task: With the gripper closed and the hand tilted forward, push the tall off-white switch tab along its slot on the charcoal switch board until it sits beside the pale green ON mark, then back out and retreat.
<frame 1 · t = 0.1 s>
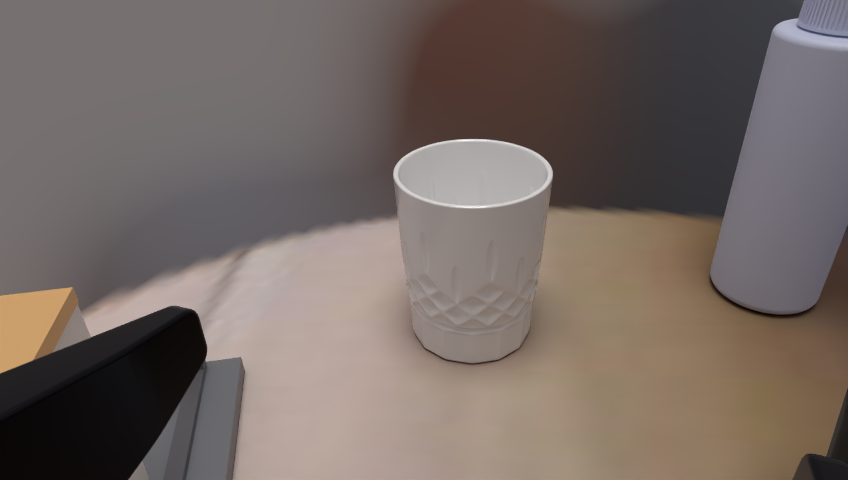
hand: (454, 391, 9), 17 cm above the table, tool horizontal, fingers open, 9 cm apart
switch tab: (40, 448, 21), point 6 cm above the table, slide at 0.0 cm
white cup: (470, 327, 36), on the table
spray bottle: (760, 290, 38), on the table
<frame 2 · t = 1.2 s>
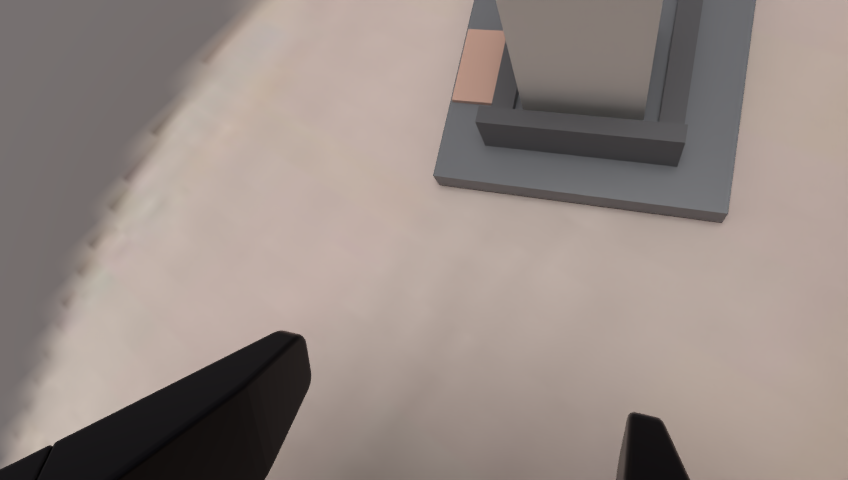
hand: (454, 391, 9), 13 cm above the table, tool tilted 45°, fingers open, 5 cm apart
switch board: (602, 29, 23), on the table
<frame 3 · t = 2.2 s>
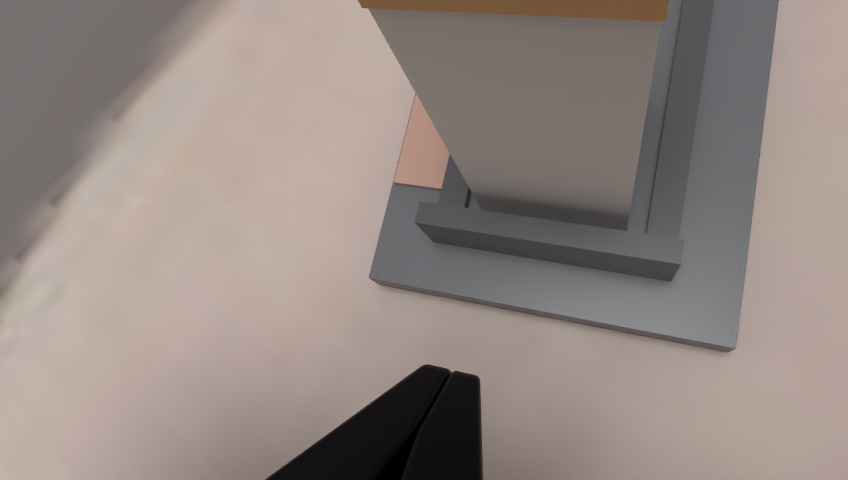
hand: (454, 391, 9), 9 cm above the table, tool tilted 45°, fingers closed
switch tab: (552, 58, 13), point 6 cm above the table, slide at 0.0 cm
switch board: (580, 96, 19), on the table
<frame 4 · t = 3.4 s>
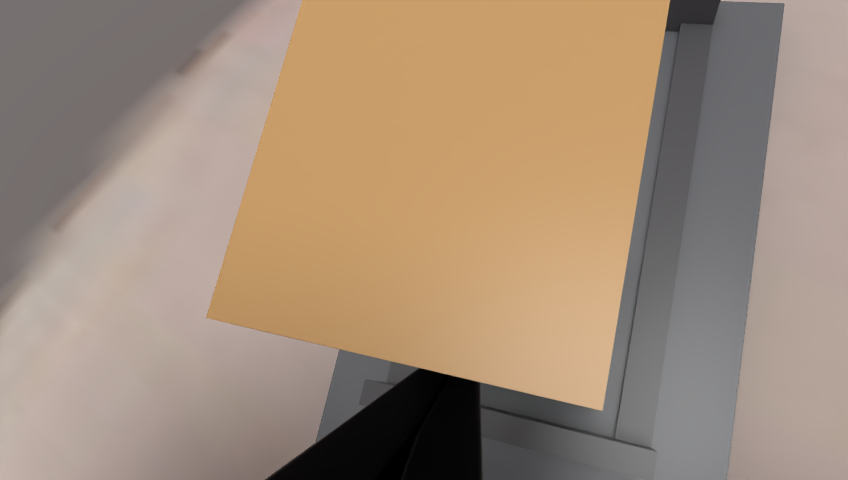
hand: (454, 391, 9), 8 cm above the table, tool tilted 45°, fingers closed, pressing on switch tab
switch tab: (501, 268, 11), point 6 cm above the table, slide at 0.1 cm, touching gripper
switch board: (550, 234, 17), on the table
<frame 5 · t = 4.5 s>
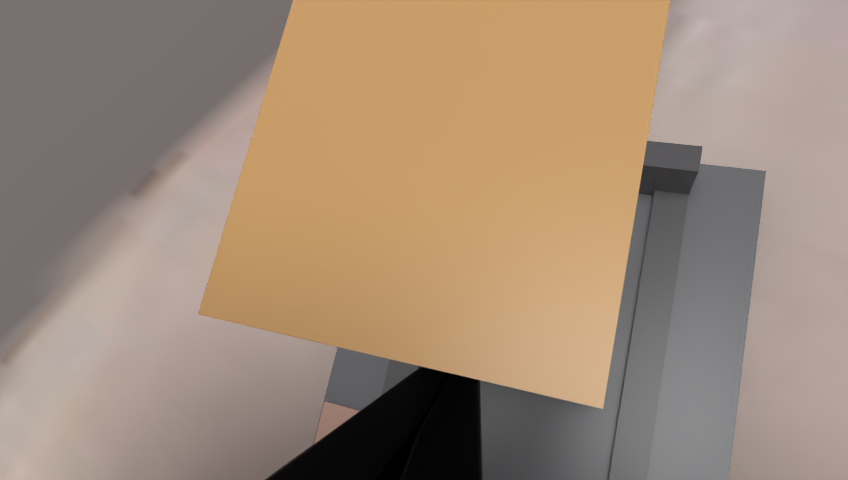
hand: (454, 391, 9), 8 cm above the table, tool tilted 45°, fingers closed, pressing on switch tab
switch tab: (501, 264, 11), point 6 cm above the table, slide at 5.0 cm, touching gripper
switch board: (516, 407, 16), on the table
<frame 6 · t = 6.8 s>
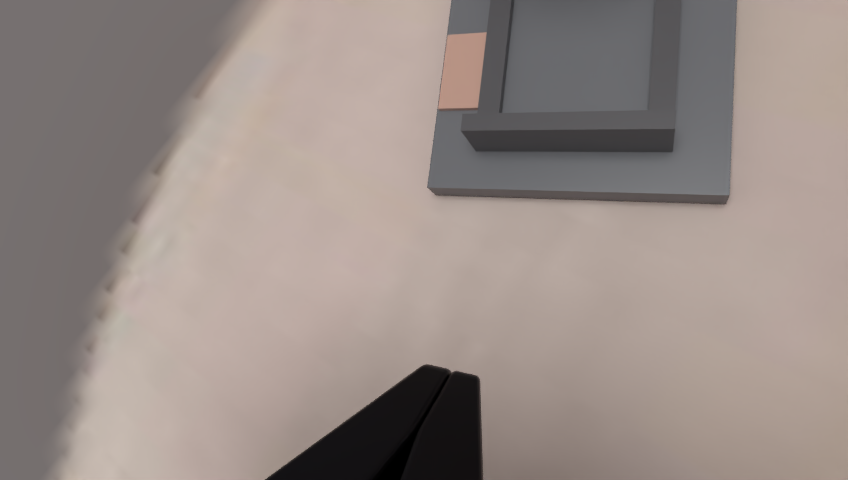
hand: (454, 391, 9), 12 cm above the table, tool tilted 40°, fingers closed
switch board: (584, 18, 23), on the table
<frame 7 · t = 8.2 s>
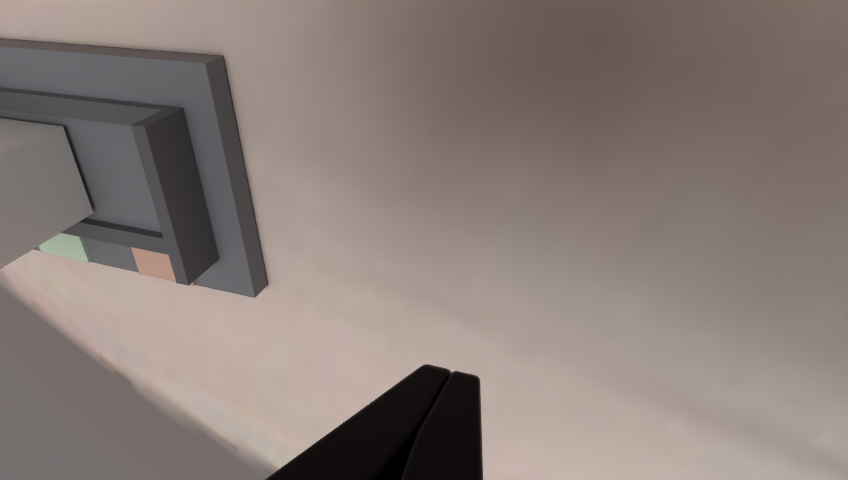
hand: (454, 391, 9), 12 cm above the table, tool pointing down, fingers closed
switch board: (110, 161, 27), on the table
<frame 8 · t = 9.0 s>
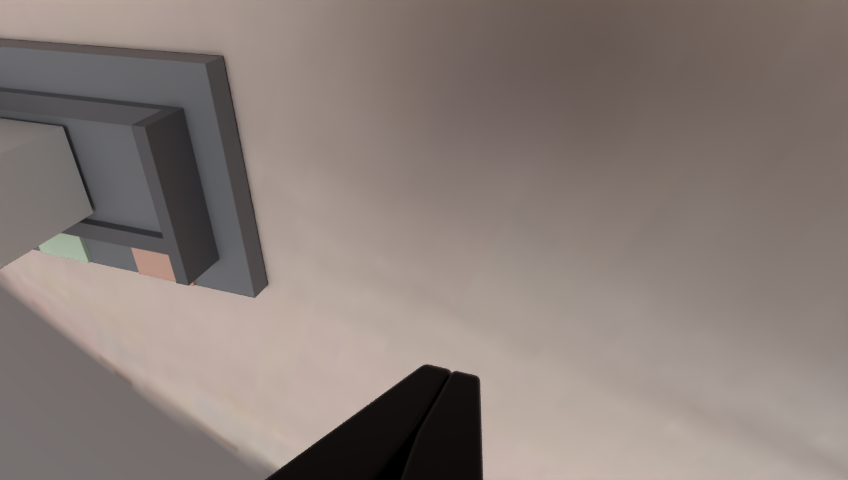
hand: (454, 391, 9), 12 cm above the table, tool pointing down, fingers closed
switch board: (110, 161, 27), on the table
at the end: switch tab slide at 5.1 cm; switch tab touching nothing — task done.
